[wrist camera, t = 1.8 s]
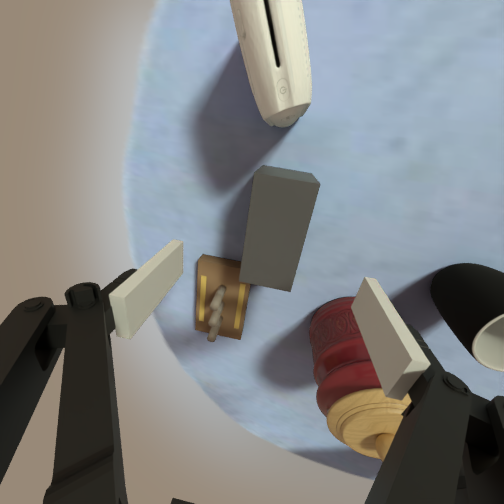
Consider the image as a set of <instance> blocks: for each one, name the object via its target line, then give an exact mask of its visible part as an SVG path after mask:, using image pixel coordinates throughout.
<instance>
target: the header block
mask: <svg viewBox="0 0 504 504" xmlns="http://www.w3.org/2000/svg"><path fill="white" fill-rule="evenodd" d="M240 269H241V262H240V261H235V260H230V259H225V258H220V257H215V256H210V255H205V254H203V255H202V256H201V257H200V258H199V260H198V277H197V302H196V327H195V330H198V331H202V332H207V333H209V335H208V337H207V339H208V341H210V342H214V341H215V339H216V336H217V335H220V336H225V337H229V338H234V339H238V340H241V335H242V331H243V326H244V320H245V314H246V308H247V302H248V297H249V291H250V285H251V284H249V283H245V282H240V281H239V276H240Z"/></svg>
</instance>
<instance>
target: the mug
mask: <svg viewBox="0 0 504 504" xmlns="http://www.w3.org/2000/svg"><path fill="white" fill-rule="evenodd" d="M430 292H431V297H432V299H433V302H434V304H435V306H436V307H437V309H438V311H439V312H440V314H441V316H442V317H443V319H444V320H445V322H446V323H447V325H448V326H449V327H450V329H451V330H452V331H453V333H454V334H455V335H456V337H457V338H458V339H459V341H460V342H461V343H462V344H463V346H464V347H465V348H466V349H467V351H468V352H469V353H470V354H471V355H472V356H473V357H474V358H475V359H476V360H477V361H478V362H479V363H480V364H482V365H483V366H485V367H487V368H490V369H493V370H496V371H501V372H504V273H503V272H500V271H498V270H495V269H492V268H489V267H486V266H483V265H479V264H472V263H460V264H455V265H452V266H449V267H447V268H445V269H443V270H442V271H440V272H439V273H438V274H437V275H436V276H435V277H434V279H433V280H432V283H431V287H430Z"/></svg>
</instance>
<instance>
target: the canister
mask: <svg viewBox="0 0 504 504" xmlns="http://www.w3.org/2000/svg"><path fill="white" fill-rule="evenodd" d="M354 299H355V297H344V298H339V299H336V300H333V301H330V302H328V303H326V304H325V305H323V306H322V307H321V308H319V309H318V310H317V312H316V313H315V314H314V316H313V318H312V320H311V324H310V330H309V336H310V343H311V346H312V352H313V361H314V369H313V374H314V379H315V381H316V383H317V385H318V390H317V394H316V400H317V404H318V407H319V409H320V410H321V412H322V413H323V414H324V415H325V416H326V417H327V425H328V428H329V430H330V432H331V433H332V434H333V435H334V436H335V437H336V438H337V439H338V440H339V441H341V442H342V443H344V444H346V445H348V446H349V447H350V448H352V449H353V450H354V451H356V452H358V453H360V454H363V455H366V456H369V457H373V458H378V459H381V460H382V462H383V461H384V459H385V457H386V454H387V452H388V450H389V448H390V445H391V443H392V441H393V439H394V436H395V434H396V432H397V430H398V427H399V425H400V423H401V421H402V418H403V416H402V415H401V414H402V413H403V411H404V410H405V409H406V408H407V407H408V405H409V404H410V403H411V402H412V401H411V399H410V397H409V395H408V393H407V395H406V396H405V397H404V398H403V400H402V401H401V400H397V399H392V398H388V397H385V394H384V391H383V389H382V386H381V384H380V381H379V378H378V376H377V373H376V371H375V368H374V365H373V363H372V360H371V358H370V355H369V353H368V350H367V347H366V345H365V342H364V340H363V337H362V334H361V332H360V329H359V327H358V324H357V321H356V319H355V316H354V314H353V311H352V309H351V306H352V304H353V302H354Z"/></svg>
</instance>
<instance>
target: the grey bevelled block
mask: <svg viewBox="0 0 504 504" xmlns="http://www.w3.org/2000/svg"><path fill="white" fill-rule="evenodd" d="M319 187H320V183H319V182H318V181H317V179H316V178H315V177H314V176H313V174H312V173H306V172H300V171H295V170H289V169H283V168H277V167H271V166H265V165H263V166H261V167H260V168H259V169H258V170H257V171H256V172H254V178H253V185H252V192H251V199H250V206H249V213H248V220H247V227H246V234H245V241H244V248H243V255H242V262H241V269H240V276H239V281H240V282H245V283H249V284H254V285H259V286H264V287H269V288H274V289H279V290H283V291H288V292H291V288H292V285H293V281H294V277H295V274H296V270H297V267H298V263H299V259H300V256H301V252H302V248H303V245H304V241H305V238H306V234H307V230H308V227H309V223H310V220H311V216H312V212H313V209H314V205H315V202H316V198H317V194H318V191H319Z"/></svg>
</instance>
